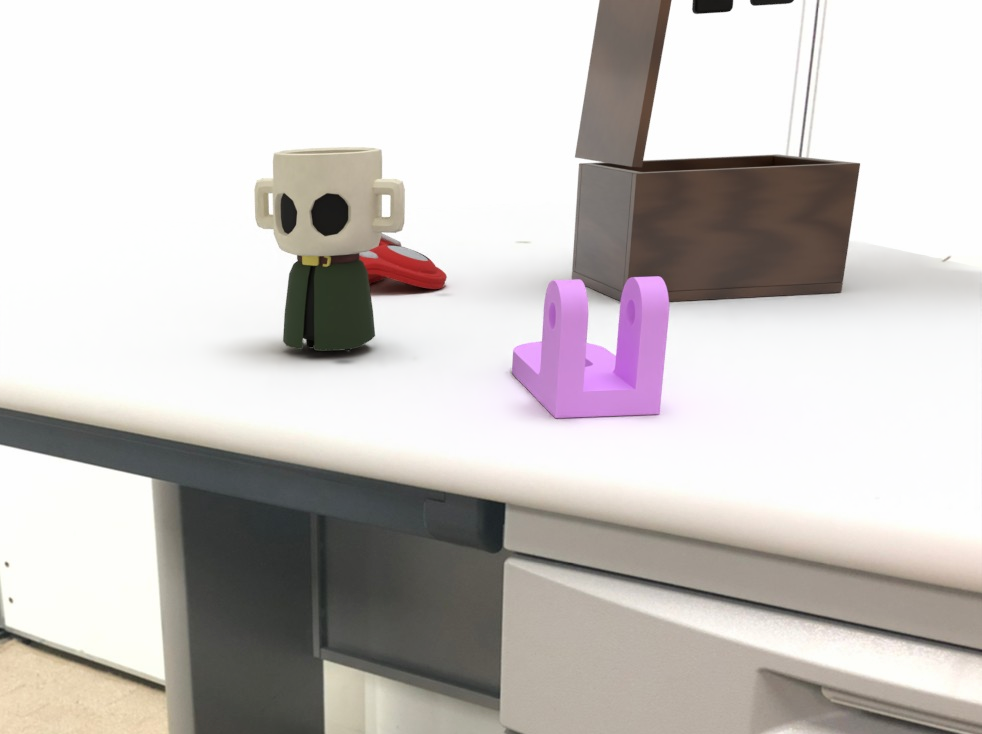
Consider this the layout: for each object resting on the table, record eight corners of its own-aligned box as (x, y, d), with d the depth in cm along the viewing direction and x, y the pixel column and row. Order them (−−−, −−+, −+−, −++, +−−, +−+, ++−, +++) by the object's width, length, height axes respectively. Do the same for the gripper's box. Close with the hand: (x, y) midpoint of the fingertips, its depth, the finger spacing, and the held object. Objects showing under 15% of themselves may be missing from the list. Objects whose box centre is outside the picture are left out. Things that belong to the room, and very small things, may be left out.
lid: (622, -86, 95) (554, -92, 94) (691, -110, 83) (614, -118, 83) (583, 158, 102) (519, 153, 101) (642, 167, 90) (570, 162, 89)
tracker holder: (473, 273, 103) (381, 256, 98) (454, 321, 105) (363, 307, 100) (399, 228, 112) (311, 210, 107) (383, 273, 114) (296, 258, 109)
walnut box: (763, 269, 106) (777, 154, 103) (841, 292, 95) (860, 163, 91) (571, 279, 105) (578, 163, 102) (626, 304, 94) (636, 173, 90)
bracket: (659, 414, 64) (672, 282, 61) (555, 418, 64) (563, 286, 61) (591, 361, 76) (599, 249, 73) (503, 364, 76) (508, 252, 73)
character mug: (234, 354, 82) (226, 154, 77) (283, 334, 87) (279, 147, 83) (380, 366, 77) (382, 153, 72) (422, 345, 82) (426, 146, 77)
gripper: (881, -286, 79) (848, -3, 85) (754, -222, 95) (734, 13, 101) (772, -281, 79) (747, 4, 85) (662, -218, 95) (648, 18, 101)
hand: (740, 8), depth 93 cm, fingers open, 9 cm apart
